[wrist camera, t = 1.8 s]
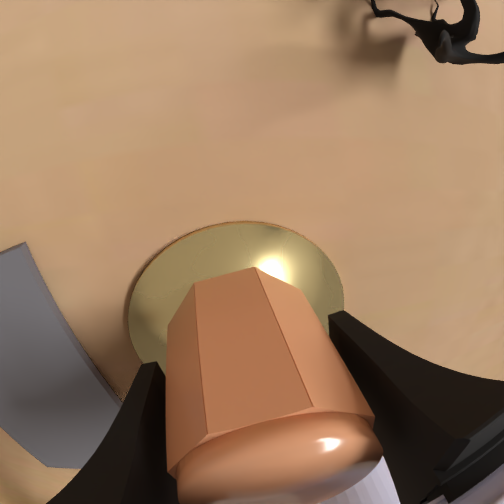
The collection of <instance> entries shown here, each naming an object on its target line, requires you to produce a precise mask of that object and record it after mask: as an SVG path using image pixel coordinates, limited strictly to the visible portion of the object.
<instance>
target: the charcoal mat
mask: <svg viewBox="0 0 504 504" xmlns="http://www.w3.org/2000/svg"><path fill="white" fill-rule="evenodd" d="M122 404H123V403H122V402H121V401H120V399H119V398H118V397H117V395H116V394H115V393H114V391H113V390H112V389H111V388H110V386H109V385H108V383H107V382H106V381H105V379H104V378H103V377H102V375H101V374H100V372H99V371H98V370H97V368H96V367H95V365H94V364H93V362H92V361H91V360H90V358H89V357H88V355H87V354H86V352H85V351H84V349H83V348H82V346H81V344H80V343H79V341H78V340H77V338H76V337H75V335H74V333H73V332H72V330H71V328H70V327H69V325H68V324H67V322H66V320H65V318H64V317H63V315H62V313H61V312H60V310H59V308H58V306H57V304H56V303H55V301H54V299H53V297H52V295H51V293H50V292H49V290H48V288H47V286H46V284H45V282H44V280H43V278H42V276H41V274H40V272H39V270H38V268H37V266H36V264H35V262H34V259H33V257H32V255H31V253H30V251H29V248H28V246H27V244H26V242H24V243H21V244H19V245H16V246H14V247H12V248H9V249H7V250H5V251H2V252H0V427H1V428H2V429H3V430H4V431H5V432H7V433H8V434H9V435H10V436H11V437H12V438H13V439H14V440H15V441H16V442H17V443H19V444H20V445H21V446H22V447H23V448H24V449H26V450H27V451H28V452H29V453H30V454H31V455H33V456H34V457H35V458H36V459H38V460H39V461H40V462H41V463H43V464H44V465H45V466H47V467H55V468H74V469H82V468H83V466H84V465H85V464H86V463H87V461H88V460H89V459H90V457H91V456H92V455H93V454H94V452H95V451H96V449H97V448H98V446H99V445H100V443H101V442H102V440H103V439H104V437H105V435H106V434H107V432H108V430H109V428H110V427H111V425H112V423H113V421H114V419H115V418H116V416H117V414H118V412H119V410H120V408H121V406H122Z"/></svg>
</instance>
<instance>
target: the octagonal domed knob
mask: <svg viewBox="0 0 504 504" xmlns="http://www.w3.org/2000/svg"><path fill="white" fill-rule="evenodd" d="M374 420H375V415H374V414H373V412H372V410H371V408H370V407H369V405H368V403H367V401H366V400H365V398H364V396H363V394H362V393H361V391H360V389H359V387H358V386H357V384H356V382H355V380H354V379H353V377H352V375H351V373H350V372H349V370H348V368H347V367H346V365H345V363H344V361H343V360H342V358H341V356H340V355H339V353H338V351H337V349H336V348H335V346H334V344H333V343H332V341H331V339H330V338H329V336H328V334H327V332H326V331H325V329H324V327H323V326H322V324H321V322H320V321H319V319H318V317H317V316H316V314H315V312H314V311H313V309H312V307H311V306H310V304H309V302H308V300H307V299H306V297H305V295H304V294H303V292H302V291H301V290H300V289H298V288H296V287H294V286H292V285H290V284H288V283H286V282H284V281H282V280H280V279H278V278H276V277H274V276H272V275H270V274H268V273H266V272H264V271H262V270H260V269H259V268H257V267H250V268H247V269H243V270H239V271H236V272H232V273H228V274H224V275H221V276H217V277H213V278H210V279H206V280H202V281H198V282H194V283H193V285H192V287H191V288H190V290H189V291H188V293H187V295H186V296H185V298H184V300H183V301H182V303H181V304H180V306H179V308H178V309H177V311H176V313H175V314H174V316H173V318H172V319H171V321H170V323H169V324H168V327H167V351H166V452H167V472H168V473H169V474H170V475H171V476H172V477H174V478H175V479H176V481H177V493H178V501H179V503H180V504H318V503H320V502H323V501H325V500H327V499H330V498H332V497H334V496H336V495H338V494H340V493H342V492H344V491H345V490H347V489H349V488H350V487H352V486H353V485H355V484H357V483H358V482H359V481H361V480H362V479H363V478H365V477H366V476H367V475H368V474H369V473H370V472H371V471H372V470H373V469H374V468H375V467H376V466H377V465H378V463H379V462H380V460H381V458H382V456H383V448H382V446H381V444H380V442H379V440H378V438H377V436H376V435H375V433H374V431H373V424H374Z"/></svg>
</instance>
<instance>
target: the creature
mask: <svg viewBox="0 0 504 504" xmlns="http://www.w3.org/2000/svg"><path fill="white" fill-rule="evenodd" d="M460 1H461V3H462V6H463V8H464V15H463V18H462V20H461V21H459V22H458V23H455V24H448V23H447V22H446V21H445V20H443V19H441V20H436V19H435V18H436V14H437V10H438V7H439V5H438V3H437V2H436V0H435V2H436V3H437V8H436V10H435V12H434V14H433V16H432V22H430V21H424V20H418V19H414V18H410V17H406V16H404V15H401V14H399V13H397V12H395V11H393V10H381V11H380V10H379V9H377V7H376V4H375V0H371V5H372V9H373V11H374V14H375V16H376V17H380V18H382V17H392V16H393V17H396V18H399V19H402V20H403V21H405V22H407V23H408V24H410V25H411V26H412V27H413V28H414V29H415V31H416V34H415V35H416V36H418V37H419V38H420V39H421V40H422V41H423V43H424V45H425V47H426V48H427V49H428V50H429V52H430V53H431V54H432V55H433V56H434V58H435V59H436V61H437V62H439V63H446V62H449V63H452V64H459V65H463V64H469V63H487V64H500V63H504V52H501V53H498V54H492V55H481V54H475V53H471V52H468V51H467V50H466V48H465V45H467V44H468V43H469V42H470V41H473V40H475V39H476V35H477V33H478V28H479V22H480V11H479V7H478V5H477V3H476V1H475V0H460Z"/></svg>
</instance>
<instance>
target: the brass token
mask: <svg viewBox="0 0 504 504" xmlns="http://www.w3.org/2000/svg"><path fill="white" fill-rule="evenodd" d="M250 267H257V268H259V269H260V270H262V271H264V272H266V273H268V274H270V275H272V276H274V277H276V278H278V279H280V280H282V281H284V282H286V283H288V284H290V285H292V286H294V287H296V288H298V289H300V290H301V291H302V292H303V294H304V295H305V297H306V299H307V300H308V302H309V304H310V306H311V307H312V309H313V311H314V312H315V314H316V316H317V317H318V319H319V321H320V322H321V324H322V326H323V327H324V329H325V331H326V332H327V334H328V336H329V325H328V315H329V314H332V313H335V312H338V311H341V310H344V294H343V287H342V284H341V280H340V277H339V275H338V273H337V271H336V269H335V267H334V265H333V264H332V262H331V261H330V260H329V258H328V257H327V256H326V255H325V254H324V253H323V252H322V251H321V250H320V249H319V248H318V247H317V246H316V245H315V244H314V243H313V242H311V241H310V240H309V239H307V238H306V237H304V236H302V235H300V234H299V233H297V232H295V231H293V230H290V229H287V228H284V227H281V226H279V225H274V224H269V223H264V222H252V221H239V222H227V223H222V224H217V225H212V226H208V227H205V228H202V229H199V230H196V231H194V232H192V233H190V234H188V235H186V236H184V237H181V238H179V239H178V240H176V241H175V242H173V243H172V244H170V245H169V246H167V247H166V248H165V249H164V250H162V251H161V252H160V253H159V254H158V255H157V256H156V257H155V258H154V259H153V260H152V261H151V262H150V263H149V264H148V266H147V267H146V268H145V269H144V271H143V273H142V274H141V276H140V277H139V279H138V281H137V283H136V285H135V288H134V290H133V293H132V296H131V301H130V305H129V310H128V328H129V335H130V338H131V341H132V344H133V347H134V349H135V351H136V353H137V355H138V356H139V358H140V359H141V361H142V362H143V363H144V364H145V363H150V362H155V361H157V362H158V364H159V366H160V368H161V369H162V371H163V373H164V374H165V376H166V351H167V327H168V324H169V323H170V321H171V319H172V318H173V316H174V314H175V313H176V311H177V309H178V308H179V306H180V304H181V303H182V301H183V300H184V298H185V296H186V295H187V293H188V291H189V290H190V288H191V287H192V285H193V283H194V282H198V281H202V280H206V279H210V278H213V277H217V276H221V275H224V274H228V273H232V272H236V271H239V270H243V269H247V268H250Z"/></svg>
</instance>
